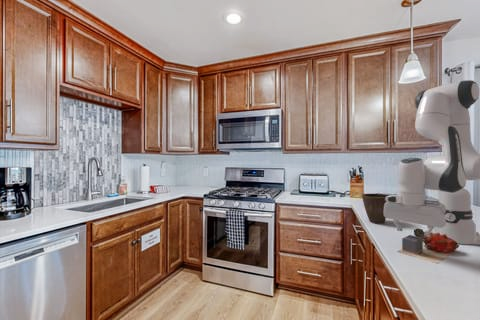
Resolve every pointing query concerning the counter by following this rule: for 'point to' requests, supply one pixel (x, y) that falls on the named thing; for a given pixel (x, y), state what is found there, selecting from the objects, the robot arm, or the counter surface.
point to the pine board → (428, 255)
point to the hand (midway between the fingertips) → (412, 233)
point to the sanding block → (412, 244)
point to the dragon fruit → (440, 243)
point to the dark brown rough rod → (419, 233)
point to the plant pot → (375, 207)
